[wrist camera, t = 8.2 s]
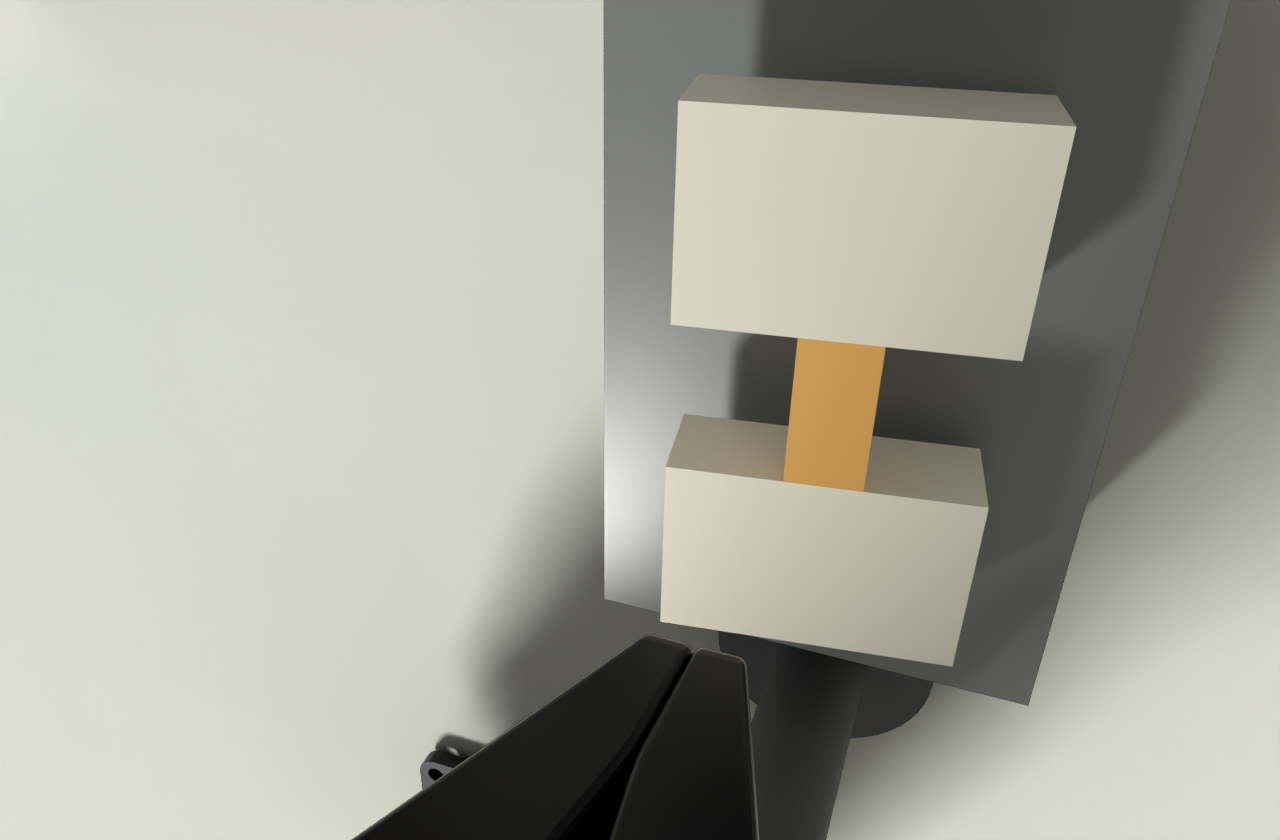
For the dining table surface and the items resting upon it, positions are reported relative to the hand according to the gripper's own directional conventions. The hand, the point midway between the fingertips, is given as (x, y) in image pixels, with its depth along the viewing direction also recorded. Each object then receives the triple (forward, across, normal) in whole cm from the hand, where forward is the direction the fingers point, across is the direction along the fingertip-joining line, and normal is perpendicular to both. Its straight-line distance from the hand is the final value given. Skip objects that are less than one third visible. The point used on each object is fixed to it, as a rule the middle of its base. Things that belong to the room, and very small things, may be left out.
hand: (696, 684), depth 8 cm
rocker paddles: (+6, 0, 0) cm, 7 cm away
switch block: (+11, 0, 0) cm, 11 cm away
